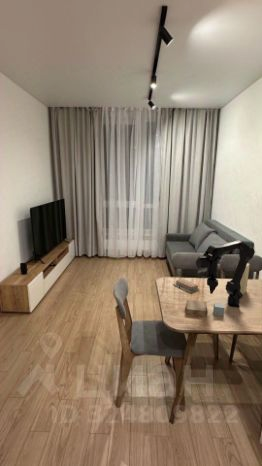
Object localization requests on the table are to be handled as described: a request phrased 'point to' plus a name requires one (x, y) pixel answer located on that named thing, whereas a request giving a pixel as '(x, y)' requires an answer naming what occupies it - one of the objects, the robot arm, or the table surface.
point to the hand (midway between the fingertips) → (210, 290)
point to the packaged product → (186, 285)
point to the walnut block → (196, 308)
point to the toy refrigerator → (244, 279)
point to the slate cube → (219, 309)
